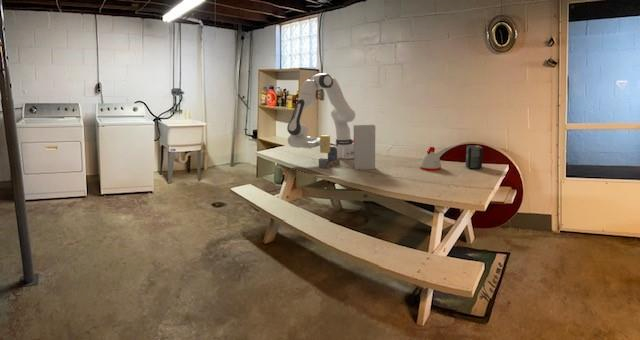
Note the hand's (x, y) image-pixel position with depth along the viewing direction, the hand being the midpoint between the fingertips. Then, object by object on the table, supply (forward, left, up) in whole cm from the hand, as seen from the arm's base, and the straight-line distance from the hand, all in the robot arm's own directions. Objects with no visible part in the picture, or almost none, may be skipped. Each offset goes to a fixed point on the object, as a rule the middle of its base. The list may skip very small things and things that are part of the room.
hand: (326, 143), depth 296 cm
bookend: (+3, +7, -16) cm, 18 cm away
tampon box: (-99, +24, -17) cm, 103 cm away
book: (+1, 0, -6) cm, 7 cm away
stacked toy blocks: (0, 0, -17) cm, 17 cm away
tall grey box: (-25, +12, -17) cm, 33 cm away
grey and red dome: (-69, +21, -17) cm, 74 cm away
